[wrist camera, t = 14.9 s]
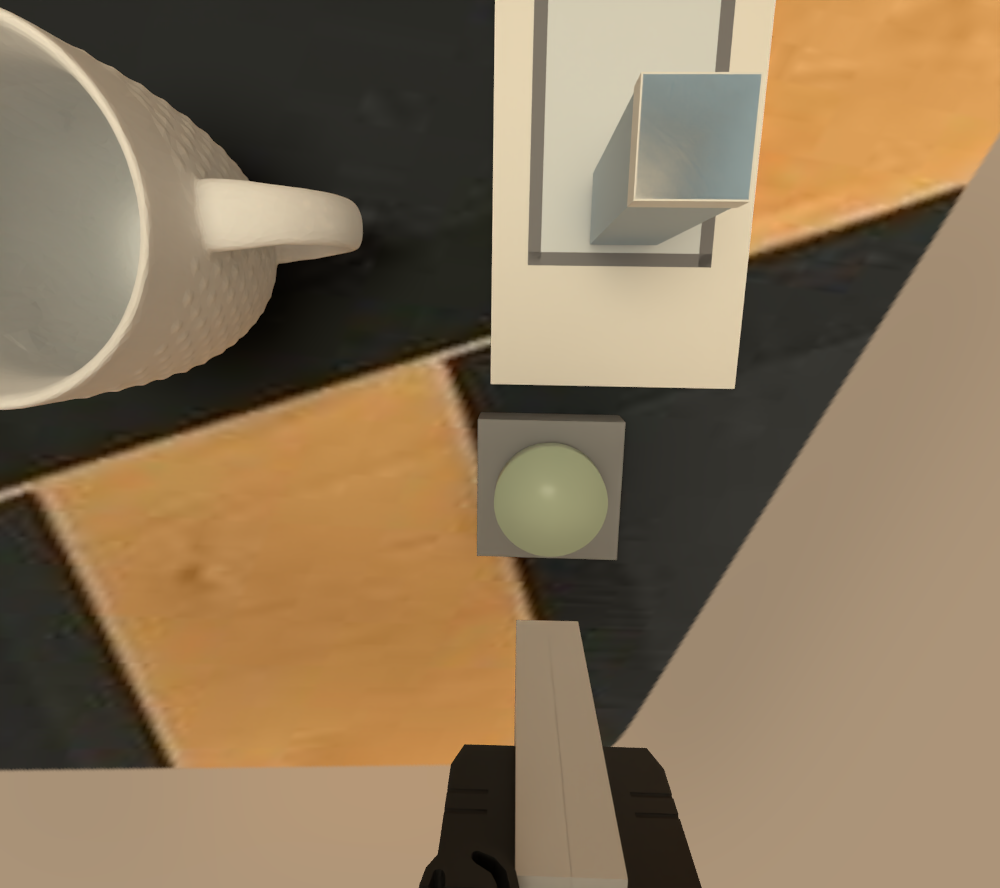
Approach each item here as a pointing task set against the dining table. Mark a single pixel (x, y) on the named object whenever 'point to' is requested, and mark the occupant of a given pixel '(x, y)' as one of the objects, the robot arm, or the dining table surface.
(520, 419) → the button housing
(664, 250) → the sheet
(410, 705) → the dining table surface
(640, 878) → the robot arm
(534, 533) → the button
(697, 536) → the dining table surface
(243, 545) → the dining table surface
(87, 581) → the dining table surface
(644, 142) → the square grey prism
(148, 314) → the mug
